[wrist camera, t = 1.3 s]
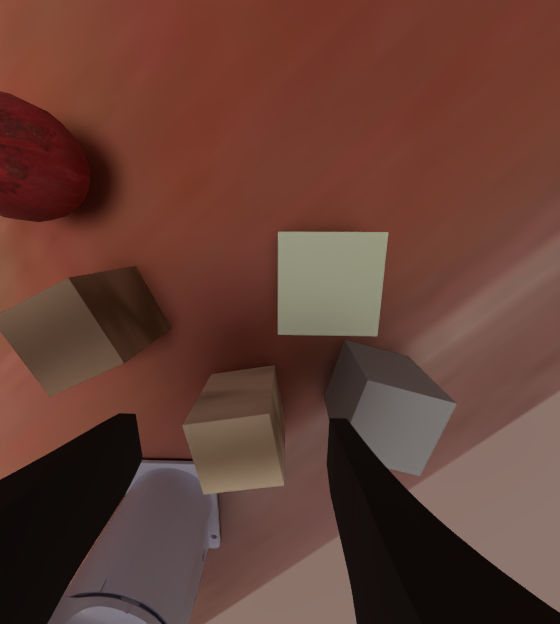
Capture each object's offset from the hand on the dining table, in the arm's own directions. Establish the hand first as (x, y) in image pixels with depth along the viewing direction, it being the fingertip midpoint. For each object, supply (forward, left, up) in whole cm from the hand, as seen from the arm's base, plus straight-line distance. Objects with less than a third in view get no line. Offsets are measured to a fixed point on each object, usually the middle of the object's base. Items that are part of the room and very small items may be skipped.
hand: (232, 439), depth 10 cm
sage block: (+5, -4, -10) cm, 12 cm away
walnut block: (+2, +10, -10) cm, 15 cm away
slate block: (-3, -8, -10) cm, 14 cm away
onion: (+11, +12, -11) cm, 19 cm away
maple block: (-5, +1, -10) cm, 12 cm away
